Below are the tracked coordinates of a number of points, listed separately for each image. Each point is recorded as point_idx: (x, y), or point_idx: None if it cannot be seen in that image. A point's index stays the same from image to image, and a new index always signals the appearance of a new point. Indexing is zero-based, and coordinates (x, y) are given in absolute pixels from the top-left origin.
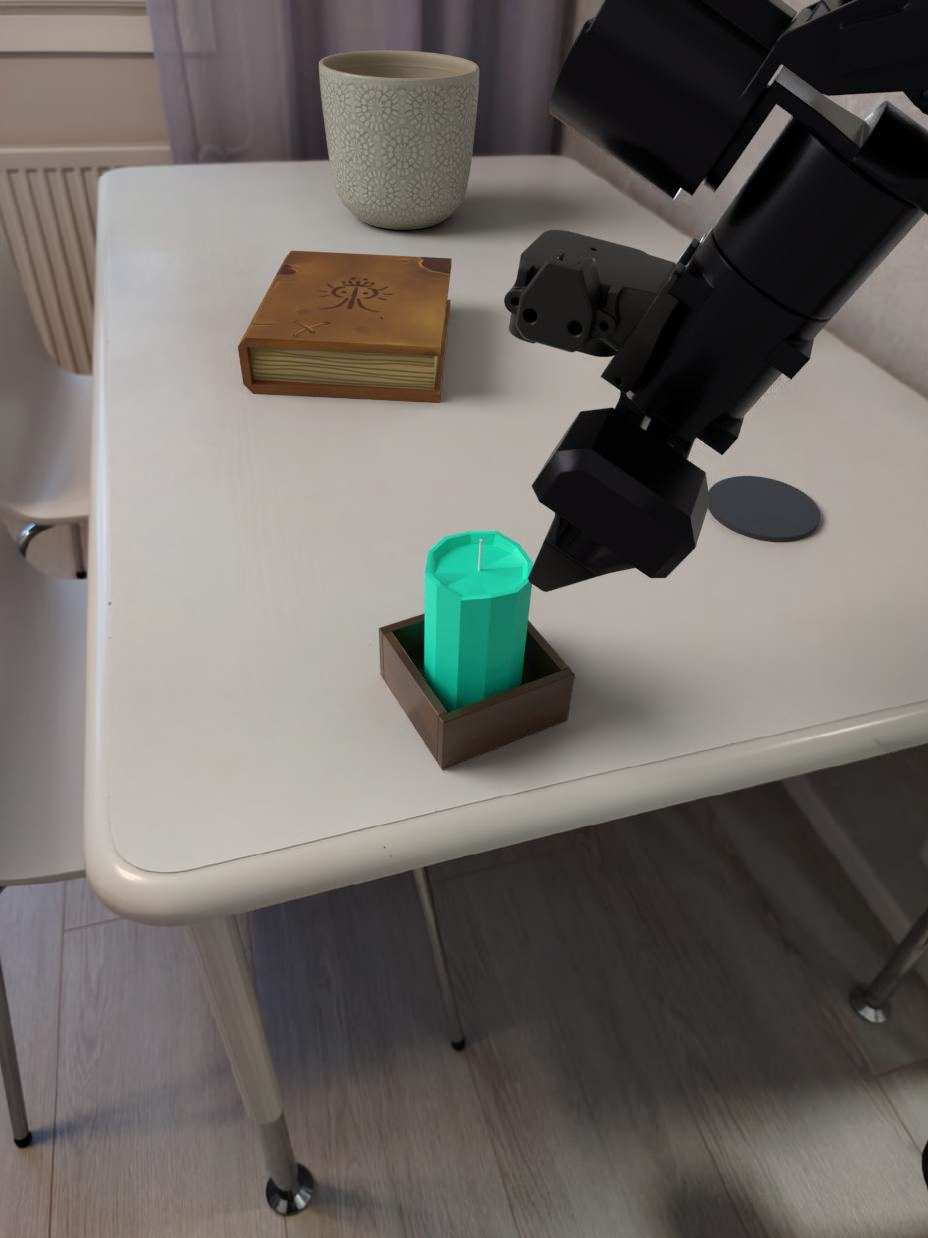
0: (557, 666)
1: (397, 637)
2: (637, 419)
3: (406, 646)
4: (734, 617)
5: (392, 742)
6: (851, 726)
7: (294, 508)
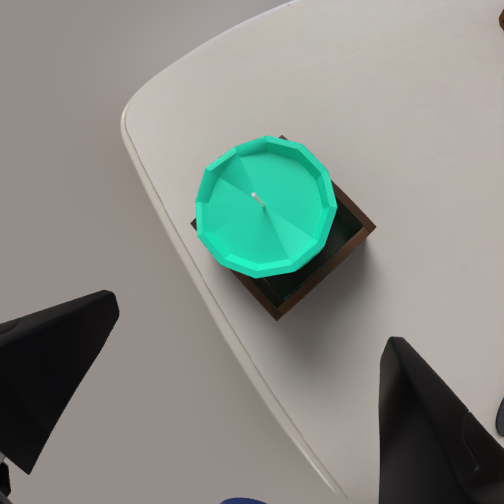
0: (282, 303)
1: None
2: (420, 500)
3: None
4: None
5: None
6: (322, 475)
7: (430, 53)
